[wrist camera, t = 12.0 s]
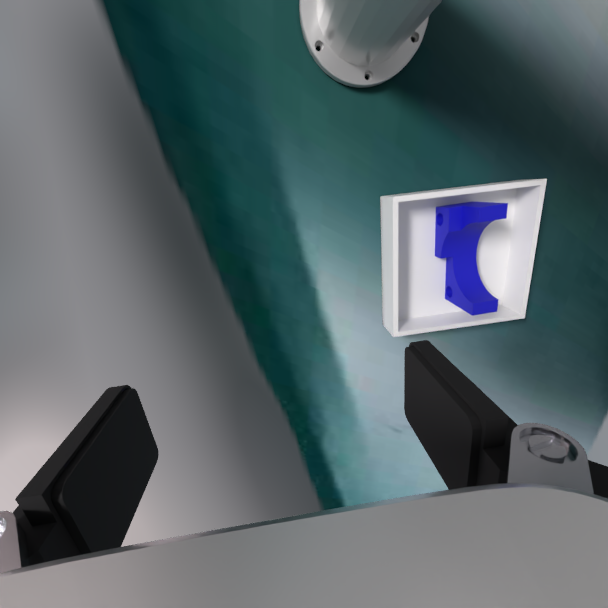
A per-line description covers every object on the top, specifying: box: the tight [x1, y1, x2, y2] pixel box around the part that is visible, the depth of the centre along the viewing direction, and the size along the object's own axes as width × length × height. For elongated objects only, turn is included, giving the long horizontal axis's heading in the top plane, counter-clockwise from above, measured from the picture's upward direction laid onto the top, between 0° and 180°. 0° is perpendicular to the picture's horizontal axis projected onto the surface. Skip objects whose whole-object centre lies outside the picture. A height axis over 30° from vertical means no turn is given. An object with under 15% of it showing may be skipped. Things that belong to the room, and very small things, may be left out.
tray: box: [380, 179, 547, 337], centre depth 38 cm, size 17×17×4 cm
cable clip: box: [435, 201, 508, 316], centre depth 36 cm, size 12×4×6 cm, turn 7°
